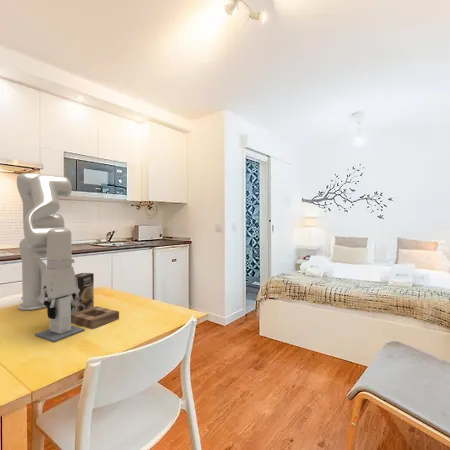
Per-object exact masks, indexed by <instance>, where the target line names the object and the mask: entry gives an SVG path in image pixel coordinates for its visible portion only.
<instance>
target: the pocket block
mask: <svg viewBox="0 0 450 450" xmlns="http://www.w3.org/2000/svg"><path fill="white" fill-rule="evenodd" d="M117 320H120V311H119V310H115V309H110V308H107V307H106V308H105V307H102V306H94V307H93V308H89V309H86V310H83V311H80V312H77V313H73V314H71V324H73V325H77V326H82V327H85V328H88V329H90V330H91V329H92V330H95V329H97V328H99V327H101V326H104V325H106V324H109V323H112V322H114V321H117Z"/></svg>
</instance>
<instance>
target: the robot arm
mask: <svg viewBox="0 0 450 450" xmlns="http://www.w3.org/2000/svg"><path fill="white" fill-rule="evenodd" d="M16 187H17V192H18V194H19V196H20V198H21V202H22V223H23V224H22V225H23V227H22V228H23V235H24V238H22V239H21V240H20V242H19V246H18V247H19V253H20V259H21V271H22V273H21V276H22V277H21V279H22V280H21V281H22V283H21V286H22V296H21V298H20V300H22V303H20V304H19V305H17V306H18V310H21V311H35V310H36V311H37V310H40V309H45V308H47V309H46V310H47V311H46V312H47V318H48V319H50V318H51V319H55V318H56V313H55V307H54V303H55V299H56V298H59V297H63V296H69V297H71V310H72V302H73V299H74V298H75V297H76V295H77V294H78V293H79V292H80V289H79V288H78V287H77V286H76V280H75V275H76V274H75V273H76V272H75V270H74V267H73V263H75V259H74V258H73V257H72V255H73V254H72V253H73V252H72V249H73V248H72V232H71V230H70V229H68V228H66V227H65V220H64V217H63V215H62V214H60V213H59V212H58V211H59V209H60V207H61V206H60V205H61V204H60V200H59V197H62V198H63V197H65V198H66V197H69V196H70V195H71V193H72V190H73V188H72V183H71V181H70V179H69V178H68V177H66V176H63V175H54V174H46V173H33V172H24V173H20V174H18V175H17V177H16ZM41 258H46V263H45V262H44V261H43V260H42V259H41Z"/></svg>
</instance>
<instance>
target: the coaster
mask: <svg viewBox="0 0 450 450" xmlns="http://www.w3.org/2000/svg"><path fill="white" fill-rule="evenodd" d="M83 332H85V328H83V327H82V328H81V327H80V326H75V325H73V324H71V330H70V331H67V332H64V333H62V334H59V333H55V332H51V331H50V328H49V329H46V330H42V331H39V332H37V333H34V336H35V337H37V338H40V339H43V340H46V341H49V342H52V343H56V342H60V341H62V340H64V339H67V338H70V337H72V336H74V335H77V334H80V333H83Z"/></svg>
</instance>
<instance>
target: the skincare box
mask: <svg viewBox="0 0 450 450" xmlns="http://www.w3.org/2000/svg"><path fill="white" fill-rule="evenodd" d="M54 307H55V313H56V318H55V319H51V318H49V329H50V331H51V332H55V333H59V334H62V333H64V332H67V331H70V330H71V325H72V323H71V297H69V296H63V297H59V298H56V299H55V303H54Z"/></svg>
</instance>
